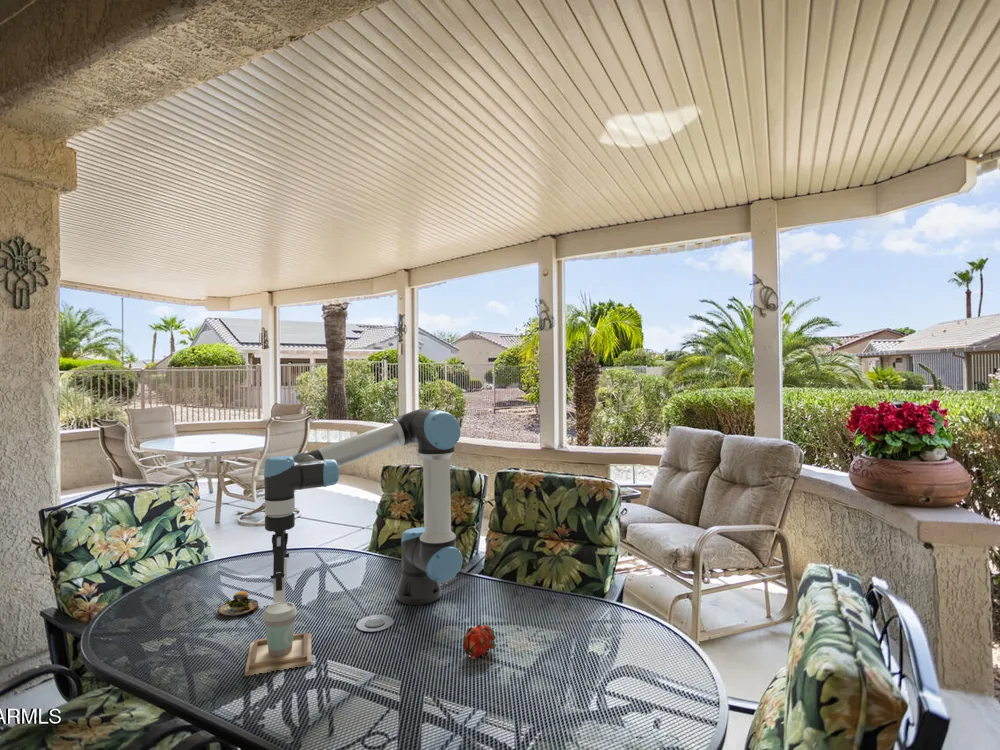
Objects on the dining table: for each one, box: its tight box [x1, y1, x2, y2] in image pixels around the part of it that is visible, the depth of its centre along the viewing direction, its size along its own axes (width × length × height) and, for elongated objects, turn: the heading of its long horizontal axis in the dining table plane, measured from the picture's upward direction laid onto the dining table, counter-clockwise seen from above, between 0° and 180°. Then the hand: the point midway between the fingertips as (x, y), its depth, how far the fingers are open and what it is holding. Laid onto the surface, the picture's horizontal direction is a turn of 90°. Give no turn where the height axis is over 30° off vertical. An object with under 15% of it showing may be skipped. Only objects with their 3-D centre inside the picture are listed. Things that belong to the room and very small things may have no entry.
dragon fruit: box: [462, 623, 497, 661], centre depth 148 cm, size 8×8×12 cm
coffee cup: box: [262, 601, 298, 657], centre depth 148 cm, size 8×8×12 cm
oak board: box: [244, 632, 312, 677], centre depth 148 cm, size 16×16×2 cm
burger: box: [217, 587, 260, 616], centre depth 175 cm, size 12×12×8 cm
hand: (280, 591), depth 148 cm, fingers open, 13 cm apart
